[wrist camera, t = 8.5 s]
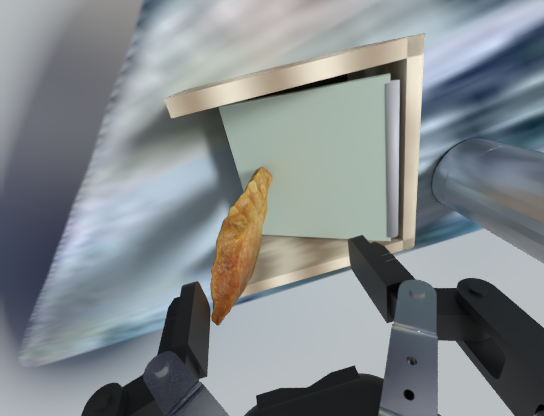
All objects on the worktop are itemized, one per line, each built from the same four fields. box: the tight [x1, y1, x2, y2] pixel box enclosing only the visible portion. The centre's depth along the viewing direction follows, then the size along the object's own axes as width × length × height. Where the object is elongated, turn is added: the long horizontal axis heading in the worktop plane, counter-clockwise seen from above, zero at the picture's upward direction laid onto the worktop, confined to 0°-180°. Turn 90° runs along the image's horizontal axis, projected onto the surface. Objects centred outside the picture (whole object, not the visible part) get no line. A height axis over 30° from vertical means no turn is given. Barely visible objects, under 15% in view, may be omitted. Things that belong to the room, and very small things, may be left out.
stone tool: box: [211, 167, 273, 325], centre depth 20 cm, size 5×2×15 cm, turn 17°
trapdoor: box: [219, 73, 400, 241], centre depth 24 cm, size 15×14×1 cm
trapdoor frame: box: [164, 33, 425, 297], centre depth 26 cm, size 17×18×10 cm
